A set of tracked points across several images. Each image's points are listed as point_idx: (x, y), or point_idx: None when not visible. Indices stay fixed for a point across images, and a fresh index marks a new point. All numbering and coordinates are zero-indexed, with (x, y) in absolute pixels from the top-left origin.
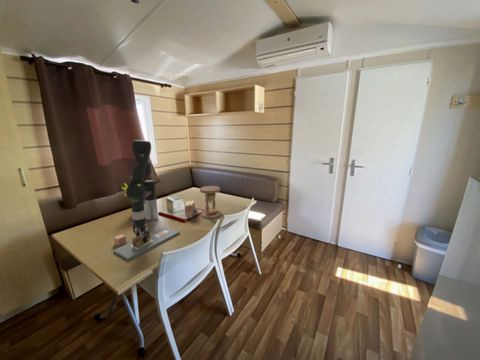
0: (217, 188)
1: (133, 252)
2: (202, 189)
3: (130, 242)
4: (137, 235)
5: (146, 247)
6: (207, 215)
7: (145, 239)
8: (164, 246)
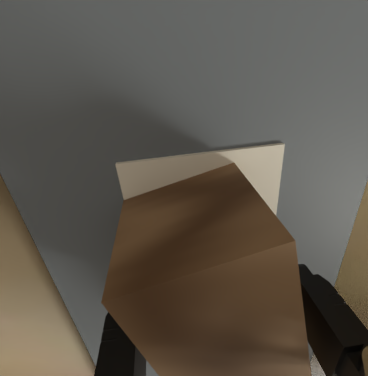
0: None
1: (55, 88)
2: None
3: (360, 185)
4: (329, 337)
5: (71, 255)
6: None
7: (101, 359)
8: (20, 341)
